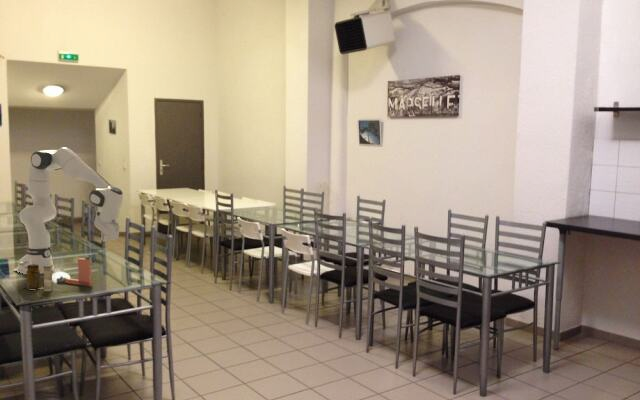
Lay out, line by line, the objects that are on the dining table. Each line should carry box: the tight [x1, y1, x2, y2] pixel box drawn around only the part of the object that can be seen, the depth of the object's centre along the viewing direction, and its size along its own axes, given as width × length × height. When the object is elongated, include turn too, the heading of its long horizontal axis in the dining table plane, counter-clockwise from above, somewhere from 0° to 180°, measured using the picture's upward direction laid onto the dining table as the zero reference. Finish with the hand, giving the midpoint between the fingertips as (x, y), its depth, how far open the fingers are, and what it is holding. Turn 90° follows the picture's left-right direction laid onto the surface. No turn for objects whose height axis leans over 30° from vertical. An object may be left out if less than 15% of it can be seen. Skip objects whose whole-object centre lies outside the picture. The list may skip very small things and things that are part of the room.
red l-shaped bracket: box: [64, 255, 93, 287], centre depth 303 cm, size 16×2×16 cm, turn 71°
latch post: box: [43, 264, 54, 292], centre depth 291 cm, size 4×4×13 cm
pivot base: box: [56, 275, 68, 285], centre depth 307 cm, size 5×5×3 cm
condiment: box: [26, 264, 45, 290], centre depth 294 cm, size 7×8×12 cm
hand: (103, 240), depth 312 cm, fingers closed
